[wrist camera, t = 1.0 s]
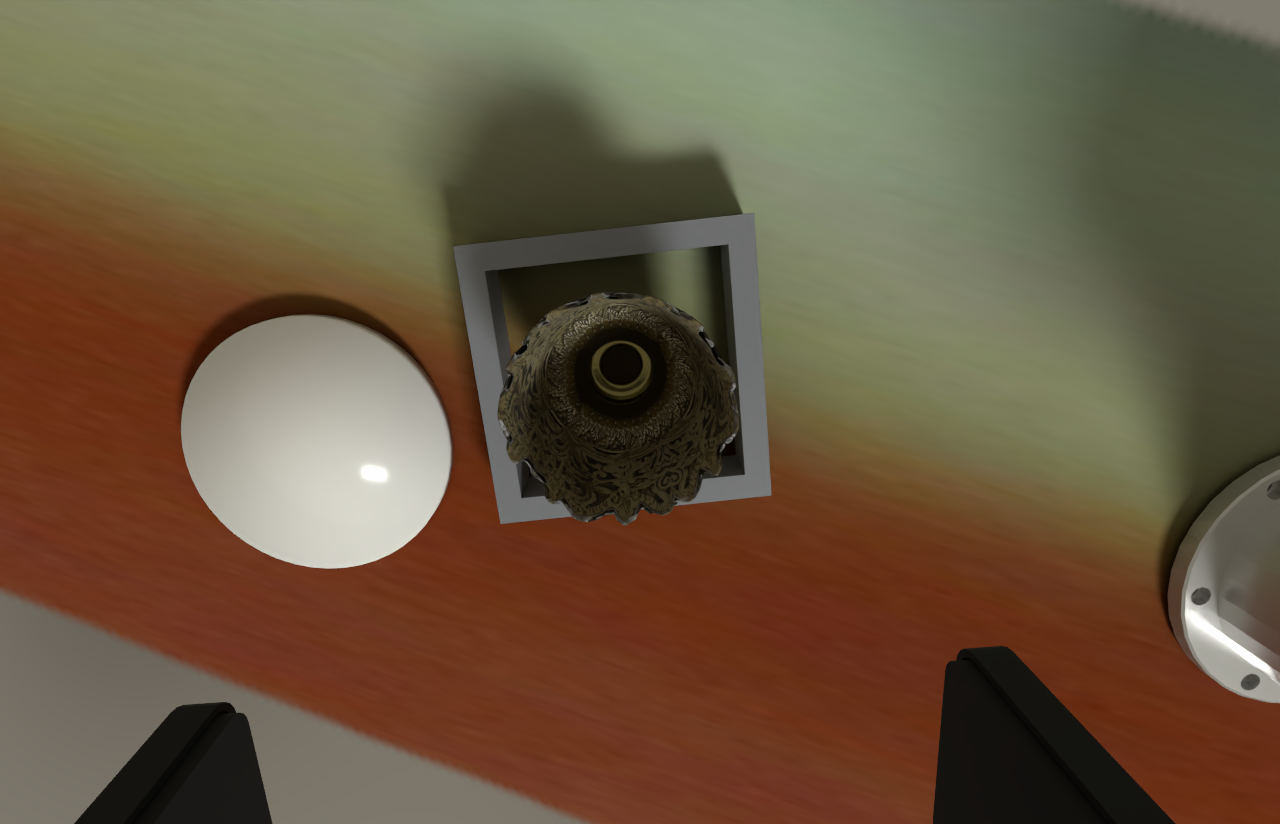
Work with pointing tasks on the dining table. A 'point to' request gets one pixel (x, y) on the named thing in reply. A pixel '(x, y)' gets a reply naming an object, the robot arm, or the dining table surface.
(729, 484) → the pocket frame
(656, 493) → the ornate bronze lamp shade
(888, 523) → the dining table surface
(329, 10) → the dining table surface
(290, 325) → the coaster
